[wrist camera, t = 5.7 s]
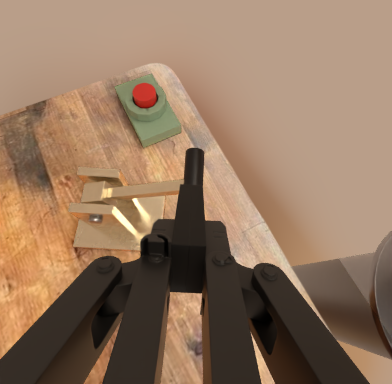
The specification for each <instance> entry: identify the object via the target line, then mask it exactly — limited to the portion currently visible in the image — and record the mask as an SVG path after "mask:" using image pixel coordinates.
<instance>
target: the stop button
mask: <svg viewBox="0 0 392 384" xmlns="http://www.w3.org/2000/svg"><path fill="white" fill-rule="evenodd" d="M132 93H133V97H134V101H135V103H136V105H137V106H138V107H140V108H150V107H152V106H154V105H155V103H156V101H157V97H156V90H155V88H154V87H153V86H152V85H151V84H148V83H140V84H138V85H136V86H135V87H134V89H133V92H132Z"/></svg>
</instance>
